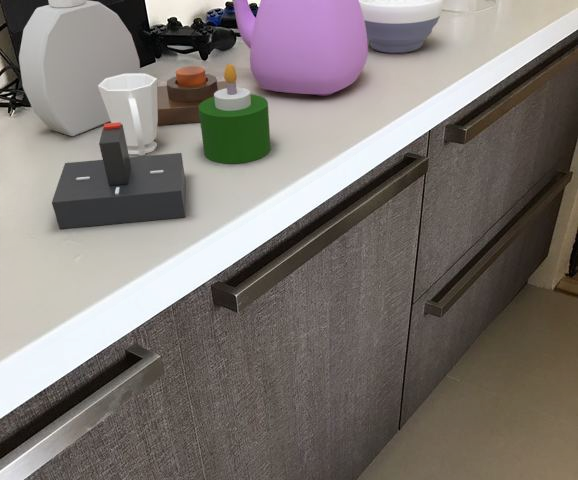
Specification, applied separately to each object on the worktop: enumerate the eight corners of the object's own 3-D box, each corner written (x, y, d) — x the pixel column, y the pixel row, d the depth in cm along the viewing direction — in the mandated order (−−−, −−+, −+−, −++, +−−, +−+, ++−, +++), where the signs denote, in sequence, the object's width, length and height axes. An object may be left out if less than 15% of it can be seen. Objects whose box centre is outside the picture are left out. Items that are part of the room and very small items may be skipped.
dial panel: (59, 229, 69) (51, 200, 66) (71, 188, 76) (64, 161, 74) (185, 217, 69) (180, 188, 67) (185, 178, 77) (181, 151, 75)
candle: (203, 165, 79) (191, 77, 73) (205, 139, 86) (194, 56, 79) (272, 161, 80) (267, 72, 73) (268, 135, 86) (263, 52, 79)
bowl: (344, 56, 111) (345, 5, 106) (364, 34, 122) (366, -14, 117) (431, 61, 108) (436, 8, 103) (444, 37, 118) (449, -12, 113)
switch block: (151, 126, 90) (146, 95, 88) (154, 102, 98) (149, 73, 95) (239, 119, 91) (237, 88, 88) (235, 95, 98) (232, 67, 96)
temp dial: (128, 184, 69) (118, 139, 66) (108, 186, 69) (98, 140, 66) (131, 165, 73) (122, 121, 70) (112, 166, 73) (102, 123, 69)
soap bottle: (60, 143, 87) (12, -35, 74) (35, 135, 89) (-15, -38, 76) (150, 107, 96) (122, -57, 83) (126, 101, 99) (94, -59, 86)
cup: (164, 134, 88) (153, 69, 82) (174, 163, 80) (163, 93, 75) (110, 142, 86) (96, 76, 81) (116, 171, 79) (100, 102, 74)
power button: (177, 89, 90) (175, 75, 89) (177, 80, 93) (175, 67, 92) (206, 87, 91) (205, 73, 89) (206, 78, 94) (204, 65, 92)
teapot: (385, 64, 107) (391, -46, 97) (343, 107, 93) (344, -17, 83) (257, 55, 114) (250, -49, 104) (200, 93, 100) (185, -22, 90)
